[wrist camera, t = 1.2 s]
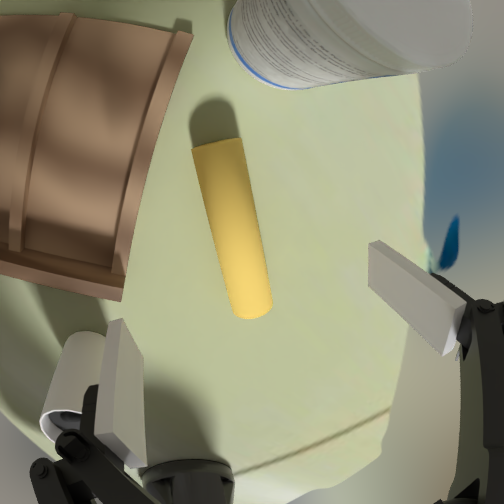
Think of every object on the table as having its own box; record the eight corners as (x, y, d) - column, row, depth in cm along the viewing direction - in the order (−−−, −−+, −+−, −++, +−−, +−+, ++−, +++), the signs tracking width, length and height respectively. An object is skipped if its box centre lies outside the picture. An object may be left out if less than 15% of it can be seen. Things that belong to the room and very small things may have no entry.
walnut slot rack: (124, 280, 25) (121, 302, 22) (-58, 235, 18) (-76, 249, 15) (192, 39, 19) (197, 26, 16) (-19, 18, 11) (-38, 9, 8)
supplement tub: (312, 110, 23) (456, 118, 10) (203, 62, 20) (263, -18, 7) (349, 21, 21) (483, -16, 8) (252, -30, 17) (342, -131, 4)
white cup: (49, 349, 25) (26, 427, 16) (85, 314, 25) (64, 397, 16) (97, 385, 28) (91, 462, 20) (136, 355, 28) (137, 439, 19)
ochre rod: (245, 291, 29) (279, 296, 28) (224, 314, 27) (260, 322, 25) (211, 141, 23) (250, 135, 21) (180, 152, 21) (221, 146, 19)
